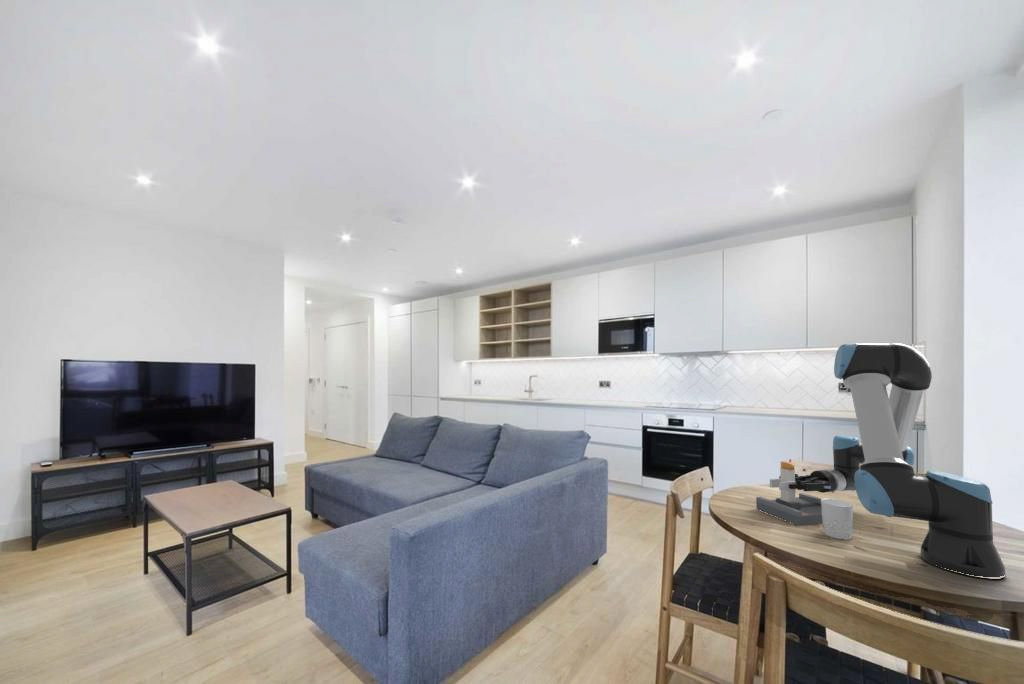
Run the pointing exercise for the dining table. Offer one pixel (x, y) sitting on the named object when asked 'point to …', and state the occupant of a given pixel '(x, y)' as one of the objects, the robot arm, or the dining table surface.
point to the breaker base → (795, 519)
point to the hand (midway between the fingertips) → (775, 484)
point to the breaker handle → (788, 495)
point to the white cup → (837, 518)
